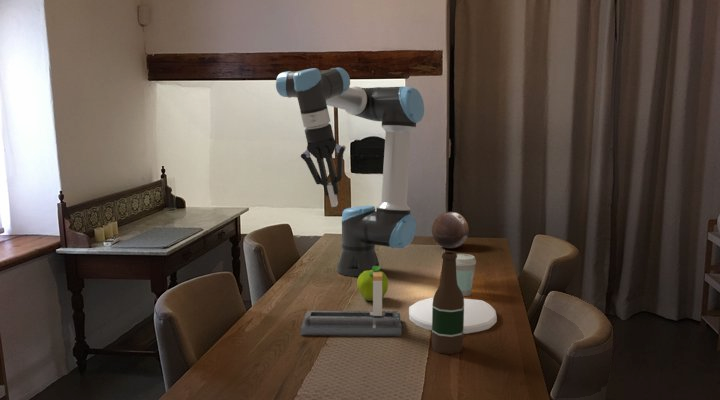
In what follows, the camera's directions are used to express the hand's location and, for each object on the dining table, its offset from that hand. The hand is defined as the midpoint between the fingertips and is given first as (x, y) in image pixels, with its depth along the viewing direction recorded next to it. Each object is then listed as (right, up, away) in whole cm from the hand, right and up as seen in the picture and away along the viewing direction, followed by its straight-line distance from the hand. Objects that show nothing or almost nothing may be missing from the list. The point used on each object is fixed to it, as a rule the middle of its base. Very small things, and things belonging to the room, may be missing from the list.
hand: (334, 205), depth 183 cm
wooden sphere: (+44, -18, +79) cm, 92 cm away
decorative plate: (+33, -32, -4) cm, 46 cm away
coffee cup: (+39, -28, +17) cm, 51 cm away
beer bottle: (+29, -35, -27) cm, 53 cm away
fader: (+12, -30, -13) cm, 35 cm away
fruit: (+11, -29, +11) cm, 33 cm away
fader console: (+5, -33, -13) cm, 35 cm away
